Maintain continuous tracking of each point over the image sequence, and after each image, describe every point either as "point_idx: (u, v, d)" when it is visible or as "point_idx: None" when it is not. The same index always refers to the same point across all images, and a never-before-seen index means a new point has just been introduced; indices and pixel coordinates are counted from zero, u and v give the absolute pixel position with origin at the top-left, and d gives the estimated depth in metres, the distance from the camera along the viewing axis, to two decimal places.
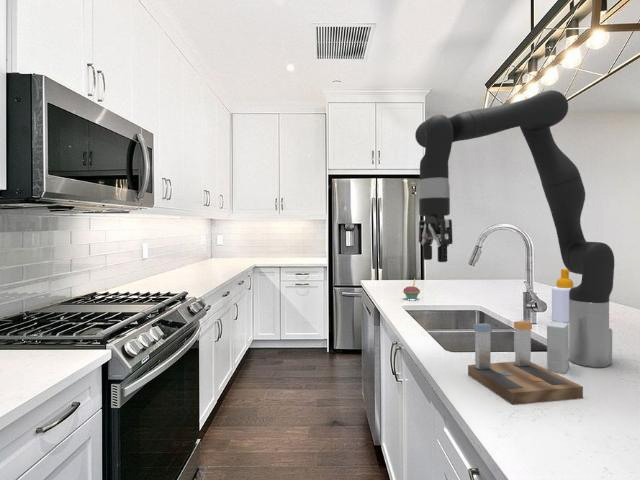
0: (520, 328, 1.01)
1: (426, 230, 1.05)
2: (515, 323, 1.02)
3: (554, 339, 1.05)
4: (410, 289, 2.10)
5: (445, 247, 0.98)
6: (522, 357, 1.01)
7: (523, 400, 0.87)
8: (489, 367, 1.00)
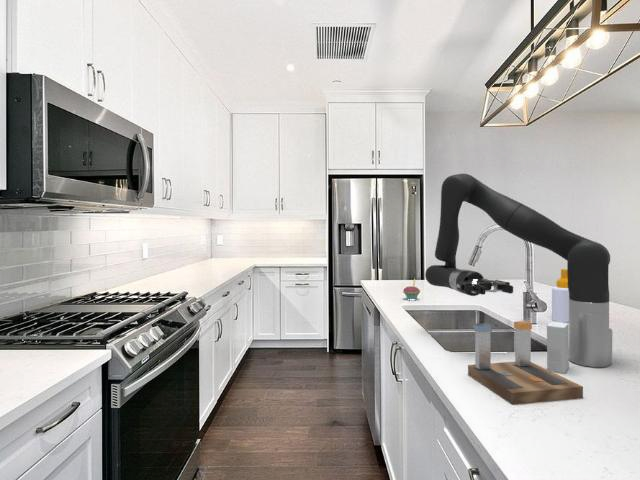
0: (520, 328, 1.01)
1: (486, 290, 1.20)
2: (515, 323, 1.02)
3: (554, 339, 1.05)
4: (410, 289, 2.10)
5: (473, 287, 1.15)
6: (522, 357, 1.01)
7: (523, 400, 0.87)
8: (489, 367, 1.00)
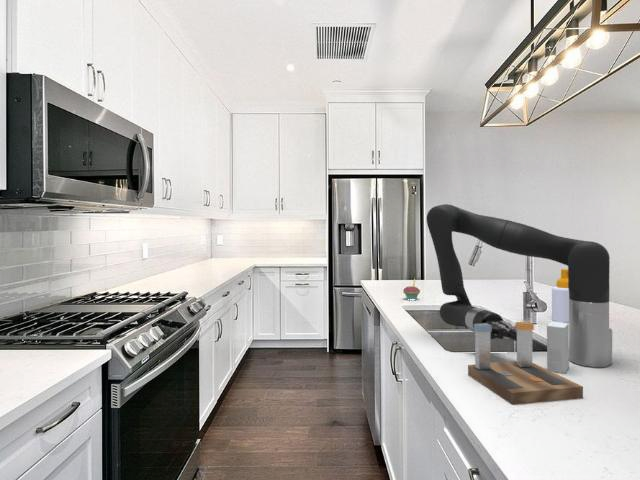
0: (522, 329, 1.00)
1: None
2: (517, 324, 1.02)
3: (554, 339, 1.05)
4: (410, 289, 2.10)
5: (507, 333, 1.06)
6: (524, 358, 1.01)
7: (523, 400, 0.87)
8: (489, 367, 1.00)
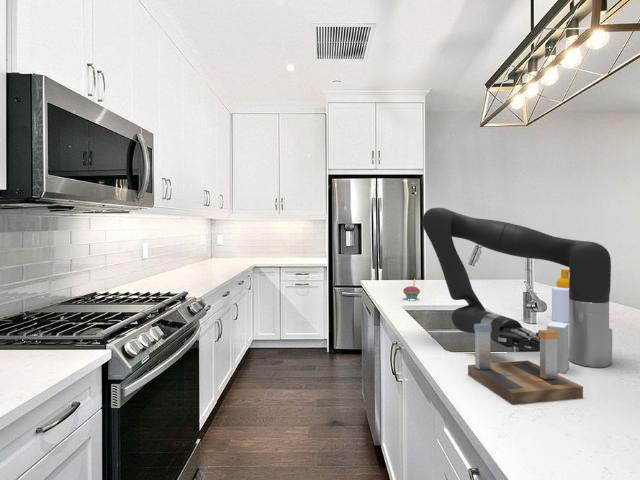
0: (546, 337, 0.92)
1: None
2: (540, 332, 0.94)
3: None
4: (410, 289, 2.10)
5: (529, 342, 0.98)
6: (548, 369, 0.93)
7: (523, 400, 0.87)
8: (489, 367, 1.00)
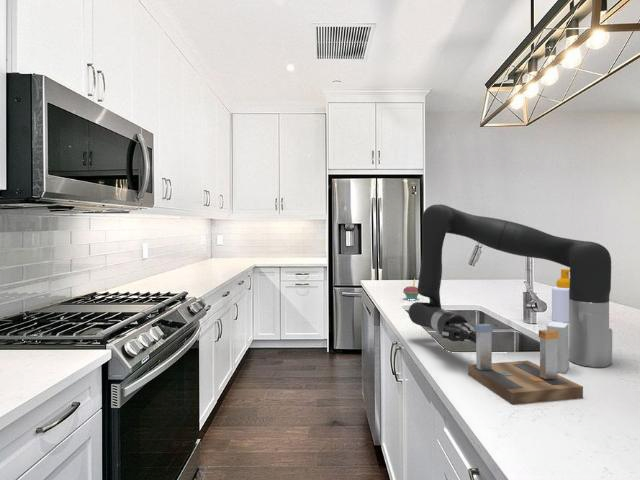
0: (546, 337, 0.92)
1: None
2: (540, 332, 0.94)
3: None
4: (410, 289, 2.10)
5: (468, 336, 1.04)
6: (548, 369, 0.93)
7: (523, 400, 0.87)
8: (490, 368, 0.99)
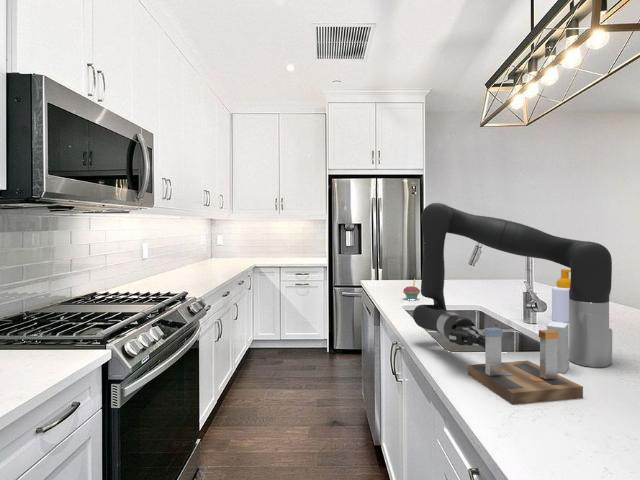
0: (546, 337, 0.92)
1: None
2: (540, 332, 0.94)
3: None
4: (410, 289, 2.10)
5: (477, 340, 1.00)
6: (548, 369, 0.93)
7: (523, 400, 0.87)
8: (500, 373, 0.96)
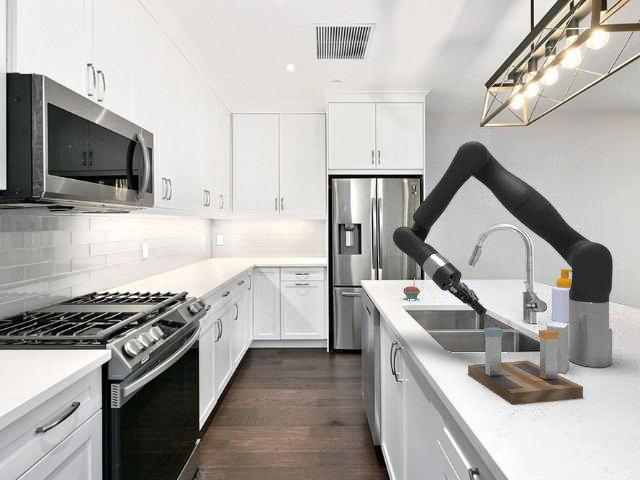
0: (546, 337, 0.92)
1: None
2: (540, 332, 0.94)
3: None
4: (410, 289, 2.10)
5: (472, 302, 1.12)
6: (548, 369, 0.93)
7: (523, 400, 0.87)
8: (500, 373, 0.96)
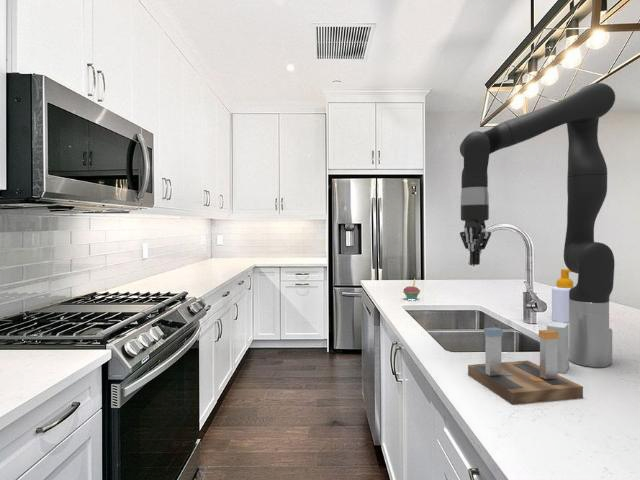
0: (546, 337, 0.92)
1: (468, 233, 1.17)
2: (540, 332, 0.94)
3: None
4: (410, 289, 2.10)
5: (478, 252, 1.15)
6: (548, 369, 0.93)
7: (523, 400, 0.87)
8: (500, 373, 0.96)
